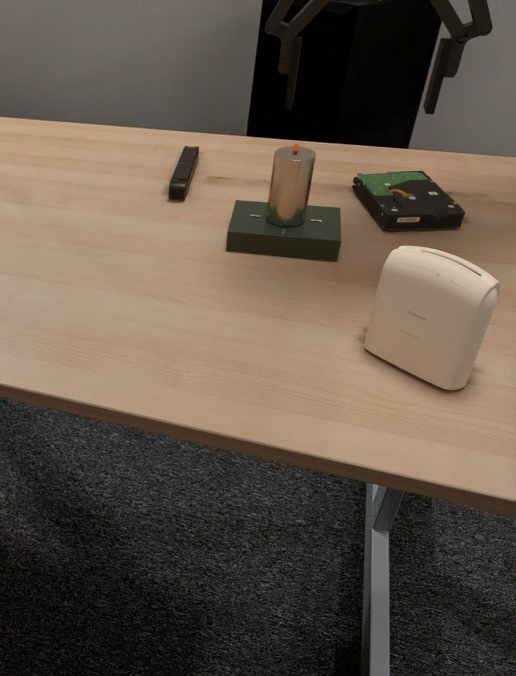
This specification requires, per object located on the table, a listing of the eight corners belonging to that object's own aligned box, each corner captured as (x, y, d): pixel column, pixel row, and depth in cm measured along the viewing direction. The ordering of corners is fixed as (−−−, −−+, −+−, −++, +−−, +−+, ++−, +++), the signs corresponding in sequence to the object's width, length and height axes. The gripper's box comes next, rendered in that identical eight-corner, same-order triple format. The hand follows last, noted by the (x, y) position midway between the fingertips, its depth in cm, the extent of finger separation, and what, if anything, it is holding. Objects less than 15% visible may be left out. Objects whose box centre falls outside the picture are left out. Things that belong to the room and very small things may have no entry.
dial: (303, 228, 85) (315, 159, 79) (264, 225, 86) (273, 156, 81) (305, 212, 88) (317, 145, 83) (267, 209, 90) (276, 142, 84)
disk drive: (461, 231, 88) (418, 186, 100) (468, 212, 86) (423, 168, 98) (383, 233, 89) (349, 188, 101) (388, 215, 87) (352, 171, 99)
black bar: (184, 203, 100) (185, 184, 98) (167, 202, 101) (168, 183, 99) (199, 160, 114) (200, 143, 112) (184, 159, 115) (185, 143, 113)
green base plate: (336, 227, 91) (340, 206, 89) (337, 261, 83) (341, 239, 81) (233, 218, 95) (236, 198, 93) (225, 251, 87) (227, 229, 85)
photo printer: (354, 348, 69) (381, 243, 61) (379, 333, 70) (408, 229, 63) (450, 398, 62) (492, 287, 54) (474, 380, 63) (518, 270, 56)
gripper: (565, -156, 55) (486, 101, 67) (260, -135, 62) (239, 93, 75) (590, -156, 49) (498, 124, 62) (251, -133, 57) (230, 113, 69)
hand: (356, 107), depth 68 cm, fingers open, 13 cm apart
